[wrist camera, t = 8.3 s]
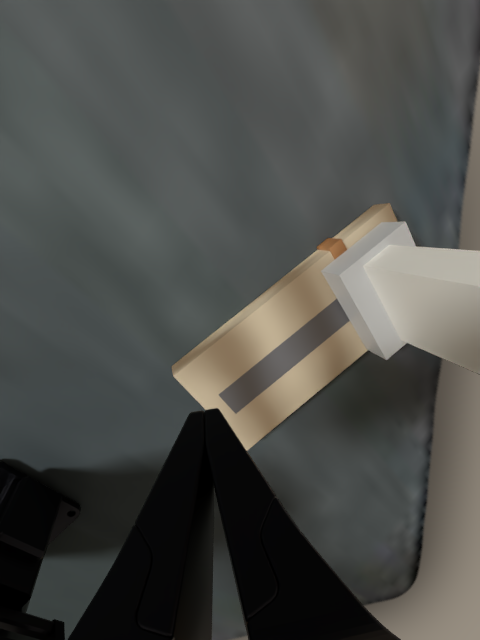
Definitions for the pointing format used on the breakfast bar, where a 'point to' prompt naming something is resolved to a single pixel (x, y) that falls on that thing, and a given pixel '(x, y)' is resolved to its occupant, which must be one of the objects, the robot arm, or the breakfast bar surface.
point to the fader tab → (410, 295)
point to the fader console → (279, 344)
